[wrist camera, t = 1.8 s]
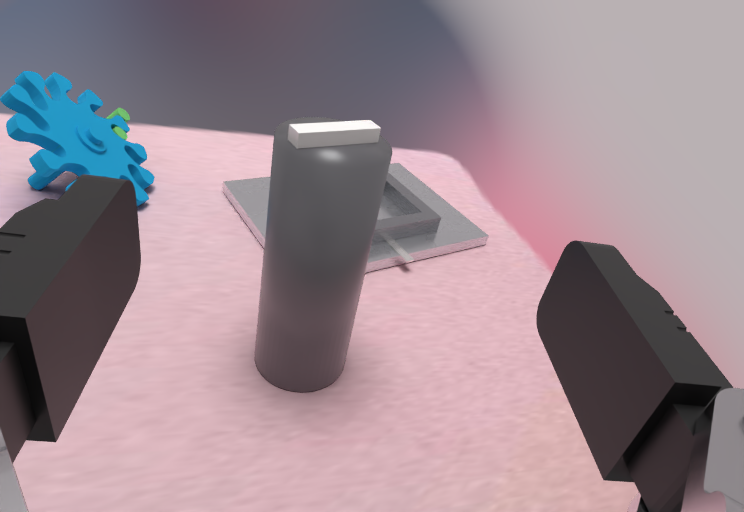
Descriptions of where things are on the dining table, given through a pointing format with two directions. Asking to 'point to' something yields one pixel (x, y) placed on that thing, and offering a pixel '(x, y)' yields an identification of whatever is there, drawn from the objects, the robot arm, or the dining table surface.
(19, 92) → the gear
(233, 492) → the dining table surface
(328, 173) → the grey peg
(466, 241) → the grey peg base plate
